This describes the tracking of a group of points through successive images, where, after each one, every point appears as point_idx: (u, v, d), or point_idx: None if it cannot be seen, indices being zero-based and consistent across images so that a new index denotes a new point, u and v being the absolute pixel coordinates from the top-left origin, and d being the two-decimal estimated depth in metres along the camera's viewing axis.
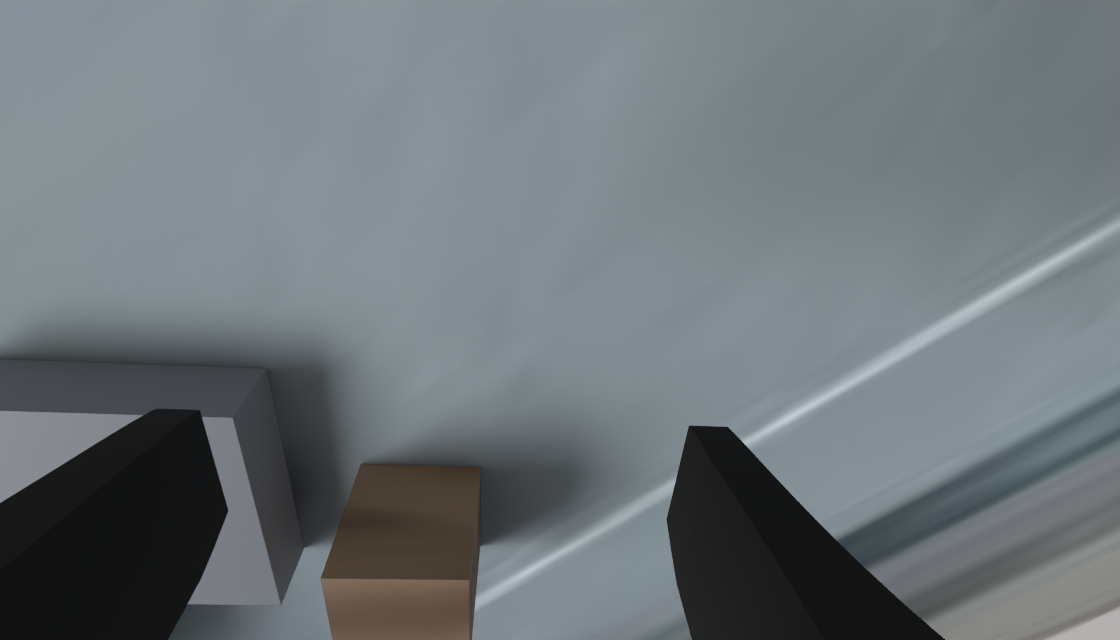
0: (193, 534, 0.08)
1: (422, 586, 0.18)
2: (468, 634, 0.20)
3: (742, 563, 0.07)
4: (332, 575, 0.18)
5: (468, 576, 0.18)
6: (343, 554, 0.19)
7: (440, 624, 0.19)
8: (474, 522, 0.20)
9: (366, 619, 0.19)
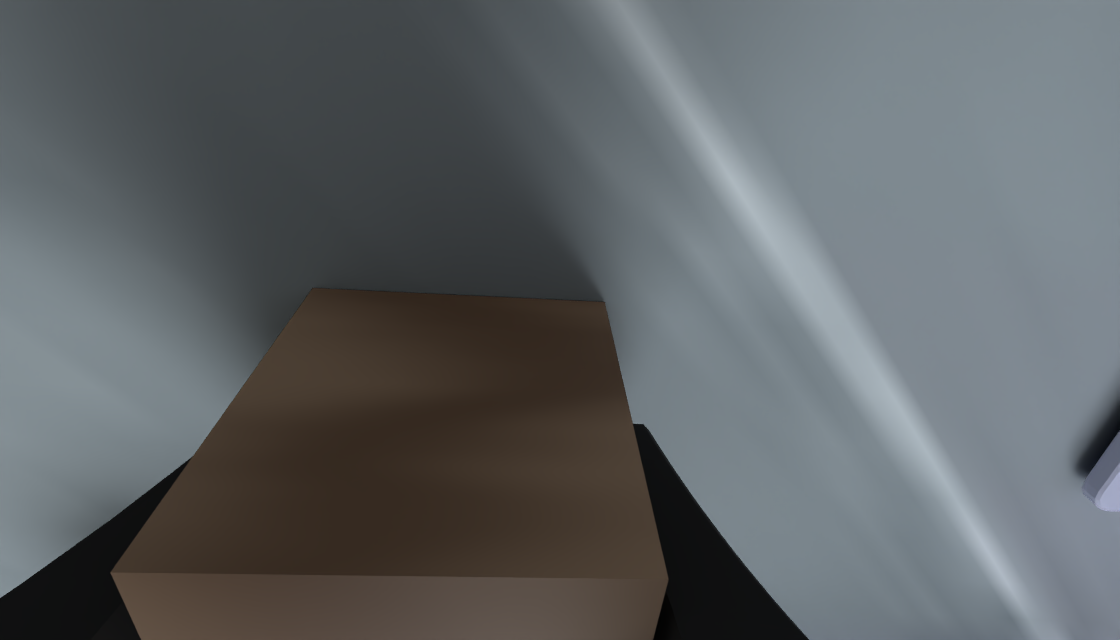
0: None
1: None
2: (469, 578, 0.05)
3: None
4: None
5: (119, 562, 0.05)
6: None
7: None
8: (240, 397, 0.07)
9: None
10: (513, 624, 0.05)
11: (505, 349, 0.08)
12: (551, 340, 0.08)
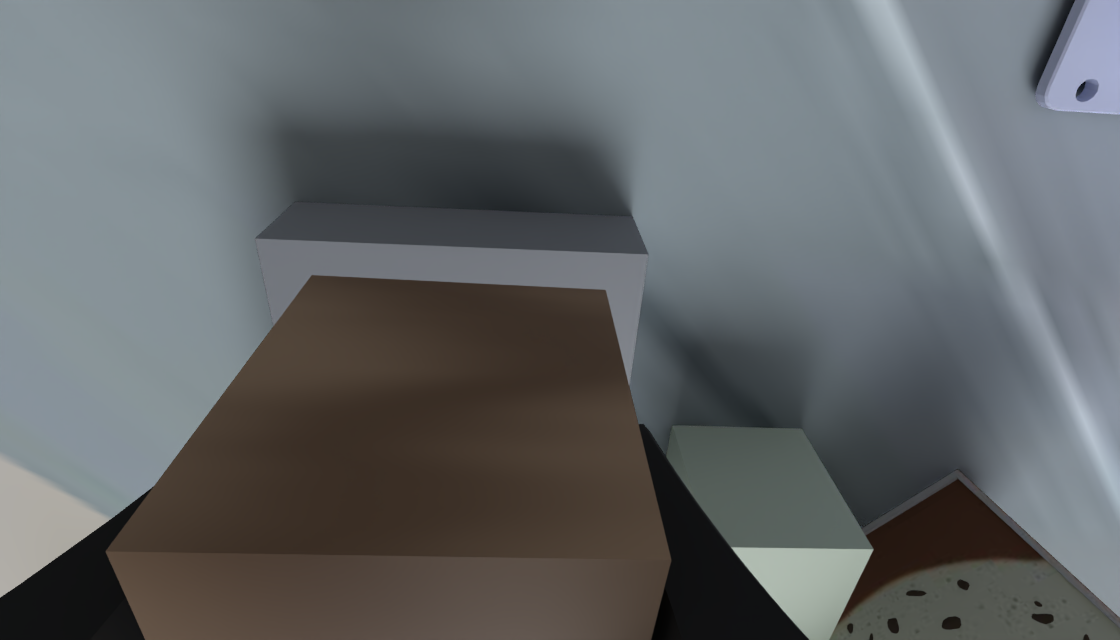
0: None
1: None
2: (469, 558, 0.05)
3: None
4: None
5: (115, 541, 0.05)
6: None
7: (404, 627, 0.05)
8: (238, 381, 0.07)
9: None
10: (515, 607, 0.05)
11: (505, 335, 0.08)
12: (552, 326, 0.08)
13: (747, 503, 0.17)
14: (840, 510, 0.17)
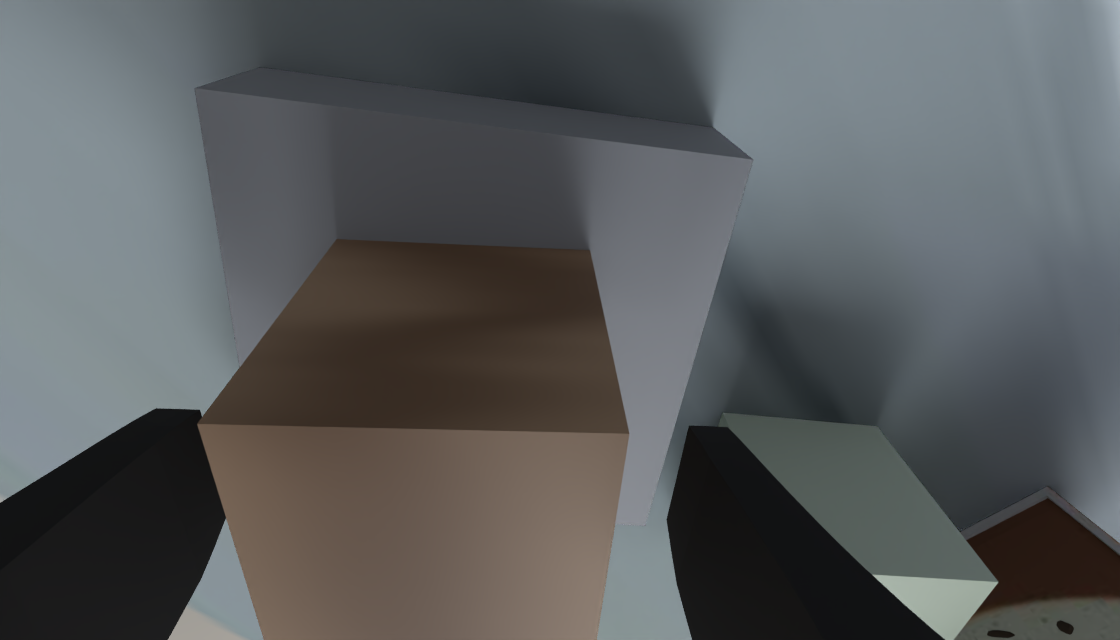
0: (193, 534, 0.08)
1: (255, 522, 0.07)
2: (473, 432, 0.06)
3: (742, 563, 0.07)
4: None
5: (202, 418, 0.06)
6: None
7: (422, 493, 0.07)
8: (283, 316, 0.08)
9: (412, 620, 0.08)
10: (509, 476, 0.07)
11: (503, 284, 0.09)
12: (542, 277, 0.10)
13: (830, 514, 0.13)
14: (945, 529, 0.13)
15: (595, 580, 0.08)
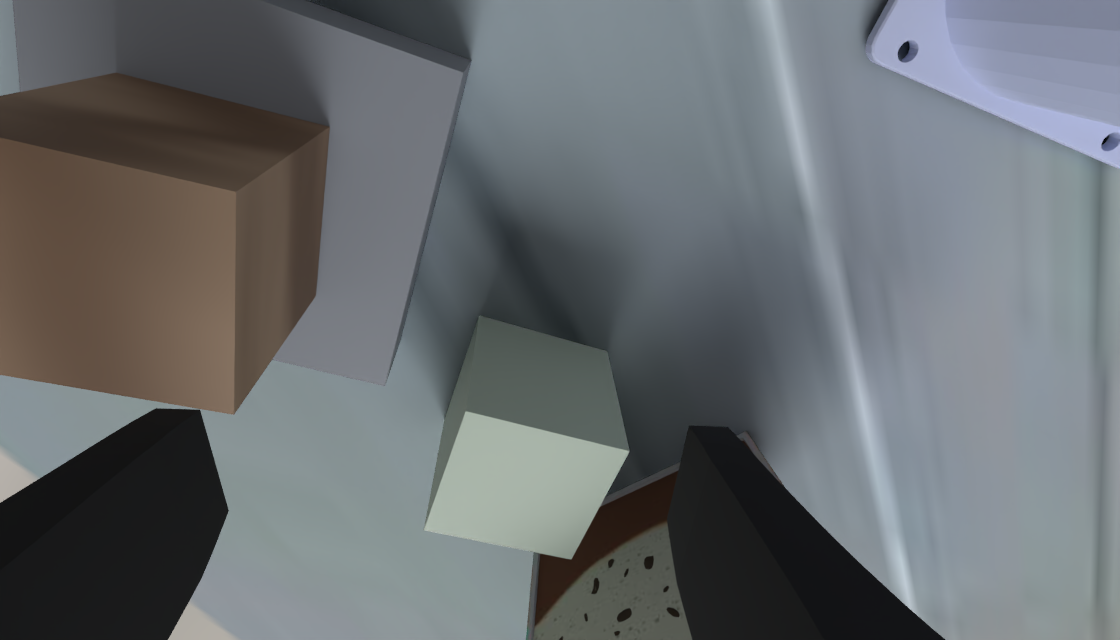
0: (193, 534, 0.08)
1: None
2: (119, 166, 0.09)
3: (742, 563, 0.07)
4: None
5: None
6: None
7: (84, 213, 0.09)
8: (27, 93, 0.10)
9: (82, 334, 0.10)
10: (149, 210, 0.09)
11: (231, 122, 0.12)
12: (269, 127, 0.12)
13: (523, 389, 0.16)
14: (612, 416, 0.17)
15: (226, 323, 0.10)
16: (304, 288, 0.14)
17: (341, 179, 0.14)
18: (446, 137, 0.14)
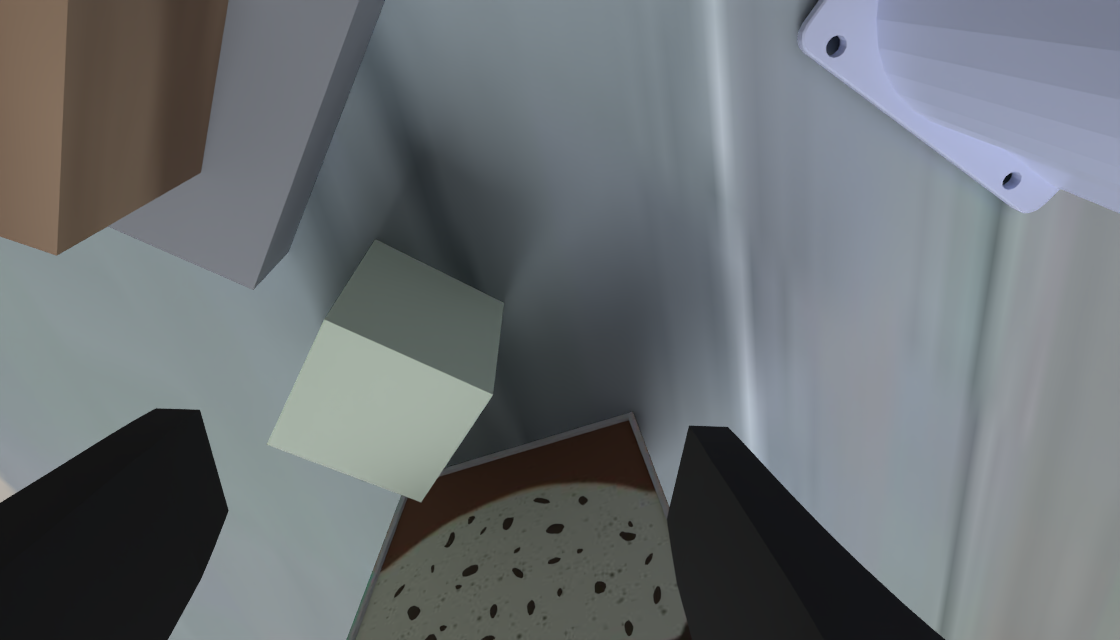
0: (193, 534, 0.08)
1: None
2: None
3: (742, 563, 0.07)
4: None
5: None
6: None
7: None
8: None
9: None
10: None
11: None
12: None
13: (397, 315, 0.16)
14: (486, 360, 0.16)
15: (52, 143, 0.09)
16: (182, 155, 0.13)
17: (229, 48, 0.13)
18: (349, 26, 0.13)
